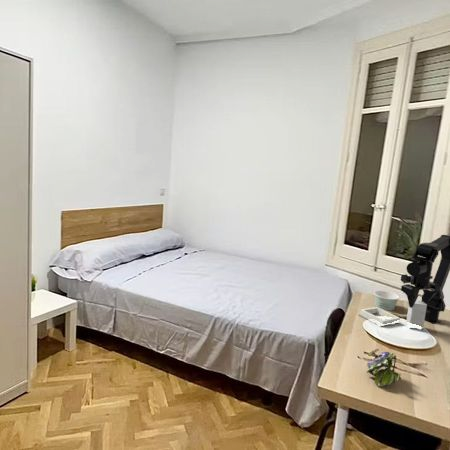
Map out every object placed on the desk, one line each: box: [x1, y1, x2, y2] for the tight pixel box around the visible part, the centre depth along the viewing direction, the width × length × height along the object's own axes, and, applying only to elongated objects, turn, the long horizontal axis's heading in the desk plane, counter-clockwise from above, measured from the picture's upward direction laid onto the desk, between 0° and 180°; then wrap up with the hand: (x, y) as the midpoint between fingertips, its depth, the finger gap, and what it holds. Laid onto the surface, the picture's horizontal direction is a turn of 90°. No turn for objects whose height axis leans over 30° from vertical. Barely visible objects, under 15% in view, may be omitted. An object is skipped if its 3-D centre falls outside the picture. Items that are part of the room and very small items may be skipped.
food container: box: [373, 290, 400, 311], centre depth 185 cm, size 12×12×6 cm
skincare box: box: [405, 300, 427, 328], centre depth 162 cm, size 6×4×12 cm
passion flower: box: [365, 348, 402, 387], centre depth 120 cm, size 11×11×12 cm
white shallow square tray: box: [358, 306, 401, 324], centre depth 169 cm, size 13×13×3 cm
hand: (417, 306), depth 162 cm, fingers open, 9 cm apart
